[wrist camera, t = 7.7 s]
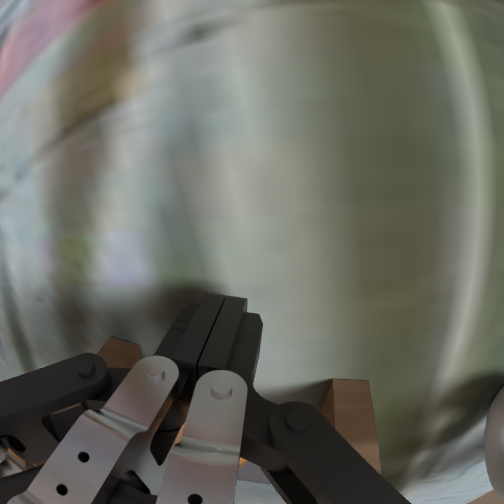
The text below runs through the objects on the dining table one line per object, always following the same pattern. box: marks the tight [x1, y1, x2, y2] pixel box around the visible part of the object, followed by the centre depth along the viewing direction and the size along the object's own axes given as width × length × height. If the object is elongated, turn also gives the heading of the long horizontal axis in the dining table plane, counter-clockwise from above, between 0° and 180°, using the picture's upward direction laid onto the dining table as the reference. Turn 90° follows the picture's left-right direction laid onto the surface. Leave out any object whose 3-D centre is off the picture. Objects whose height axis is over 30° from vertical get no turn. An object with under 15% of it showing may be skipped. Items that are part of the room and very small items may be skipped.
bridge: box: [33, 337, 381, 475], centre depth 10 cm, size 3×14×9 cm, turn 86°
